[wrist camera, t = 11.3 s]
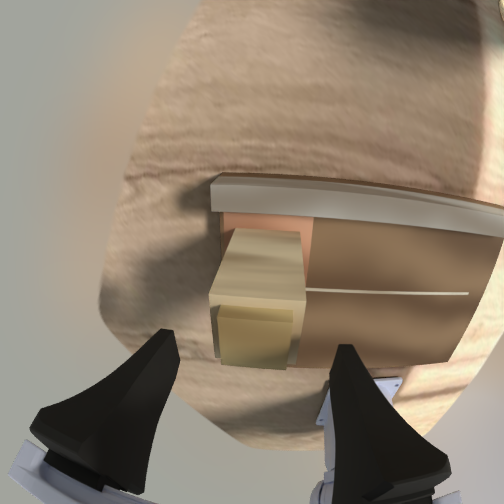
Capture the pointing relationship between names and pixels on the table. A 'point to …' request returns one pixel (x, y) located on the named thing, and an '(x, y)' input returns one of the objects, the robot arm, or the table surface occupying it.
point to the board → (373, 261)
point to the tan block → (259, 299)
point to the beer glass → (501, 8)
